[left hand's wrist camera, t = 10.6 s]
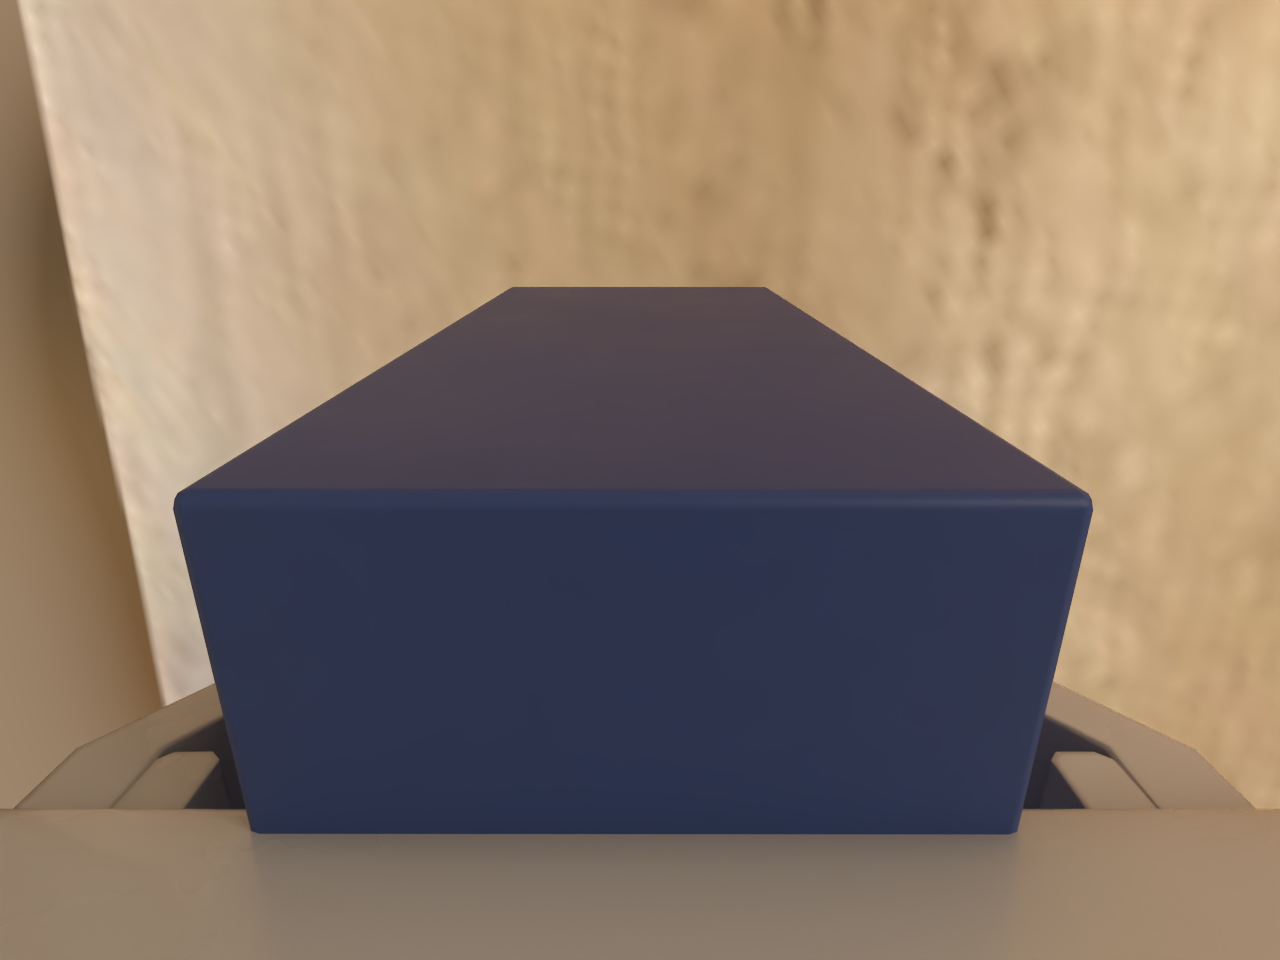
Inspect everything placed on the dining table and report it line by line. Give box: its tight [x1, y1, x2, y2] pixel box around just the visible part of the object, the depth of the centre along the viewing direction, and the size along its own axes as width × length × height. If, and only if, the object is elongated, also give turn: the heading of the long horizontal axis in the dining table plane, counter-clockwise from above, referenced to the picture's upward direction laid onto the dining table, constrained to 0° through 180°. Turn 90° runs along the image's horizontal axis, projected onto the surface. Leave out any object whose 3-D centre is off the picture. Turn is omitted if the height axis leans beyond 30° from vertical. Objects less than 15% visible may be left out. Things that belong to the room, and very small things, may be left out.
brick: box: [173, 287, 1093, 835], centre depth 11 cm, size 5×8×11 cm, turn 0°
